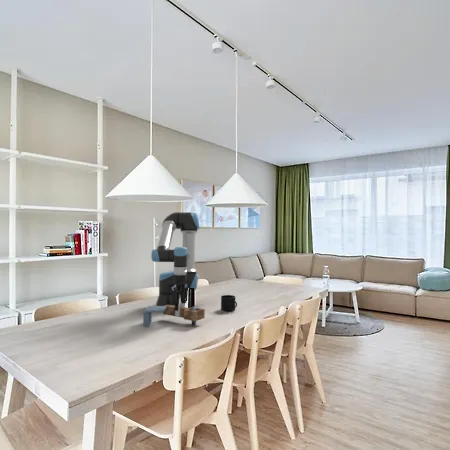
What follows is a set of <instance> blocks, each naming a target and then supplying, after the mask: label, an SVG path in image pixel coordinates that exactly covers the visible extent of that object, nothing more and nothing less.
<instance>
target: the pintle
mask: <svg viewBox="0 0 450 450" xmlns="http://www.w3.org/2000/svg"><path fill="white" fill-rule="evenodd" d="M191 308H192V311H196V308H197V306H196V305H192V306H191ZM196 325H197V321H191V326H196Z"/></svg>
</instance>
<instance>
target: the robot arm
mask: <svg viewBox="0 0 450 450" xmlns="http://www.w3.org/2000/svg"><path fill="white" fill-rule="evenodd" d="M161 229H162V230H161V232H160V236H159V240H158V244H157V247H156V248H155V249H152V250H151V253H150V254H151V256H150V257H151V261H152V262H153V263H155V262H156V263H173V271H172V270H171V271H170V270H169V271H165V272H162V273H160V274H159V278H158V279H159V280H158V297H157V301H156V303H155V304H156V305H155V306H164V305H172V306H175V316H174V317H176V316H178V317H177V318H180V317H179V316H180V307H185V304H187V301H188V296H189V295H188V293H189V291H188V288H194V291H196V290H197V288H198V287H197V286H198V283H199V277H200V276H199V273H197V270H196V269H195V261H196V260H195V259H196V257H195V255H196V253H195V250H196V233H198V230H200V222H199V214H198V213H197V212H191V211H190V212H187V211H186V212H182V211H181V212H178V211H177V212H176V211H175V212H173V213H170V214H169V215H167V216H166V217H165V218H164V220H163V221H162V224H161ZM176 230H180V233H181V234H182V243H181V245H182V246H175V247H174V249H170V248H171V244H172V239H173V235H174V232H175V231H176Z"/></svg>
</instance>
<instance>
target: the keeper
mask: <svg viewBox="0 0 450 450" xmlns="http://www.w3.org/2000/svg"><path fill="white" fill-rule="evenodd" d="M166 308H167V306H156V305H148V307H146V308H145V309H144V311H143V313H142V314H143V315H142V316H143V323H142V325H143V327H147V328H149V327H150V326H151V324H152V321H153V319H152V318H153V314H154V313H159V314H160V313H162V314H164V311H165V309H166Z"/></svg>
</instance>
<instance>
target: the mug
mask: <svg viewBox="0 0 450 450" xmlns="http://www.w3.org/2000/svg"><path fill="white" fill-rule="evenodd" d="M237 306H238V302H237V301H236V296H235V295H233V294H223V295H221V296H220V310H221V311H222V312H225V313H230V312H235V311H236V308H237Z"/></svg>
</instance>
